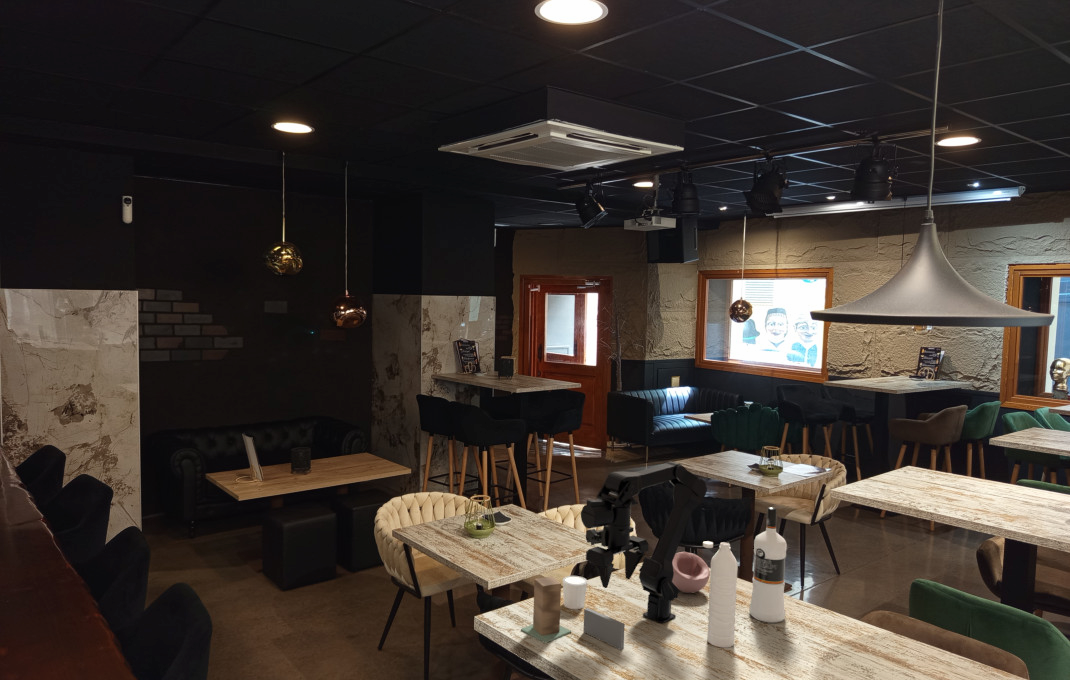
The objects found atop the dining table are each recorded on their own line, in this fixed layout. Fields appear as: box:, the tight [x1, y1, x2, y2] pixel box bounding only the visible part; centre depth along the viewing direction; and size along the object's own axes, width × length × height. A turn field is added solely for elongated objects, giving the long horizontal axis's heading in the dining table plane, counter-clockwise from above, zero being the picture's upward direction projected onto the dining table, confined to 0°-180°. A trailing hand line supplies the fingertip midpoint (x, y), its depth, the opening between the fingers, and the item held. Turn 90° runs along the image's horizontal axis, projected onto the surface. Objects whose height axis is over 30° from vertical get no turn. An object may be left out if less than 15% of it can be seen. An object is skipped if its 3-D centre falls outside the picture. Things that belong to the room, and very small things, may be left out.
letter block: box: [532, 576, 562, 636], centre depth 179 cm, size 5×5×12 cm
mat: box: [520, 623, 572, 643], centre depth 179 cm, size 9×9×1 cm
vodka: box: [748, 506, 788, 624], centre depth 192 cm, size 9×9×30 cm
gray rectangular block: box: [583, 607, 626, 650], centre depth 176 cm, size 1×12×6 cm, turn 44°
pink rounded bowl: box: [672, 551, 711, 594], centre depth 208 cm, size 12×12×12 cm
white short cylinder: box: [562, 575, 588, 610], centre depth 196 cm, size 7×7×7 cm
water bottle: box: [702, 540, 739, 648], centre depth 176 cm, size 9×6×25 cm
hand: (616, 583), depth 182 cm, fingers open, 9 cm apart
